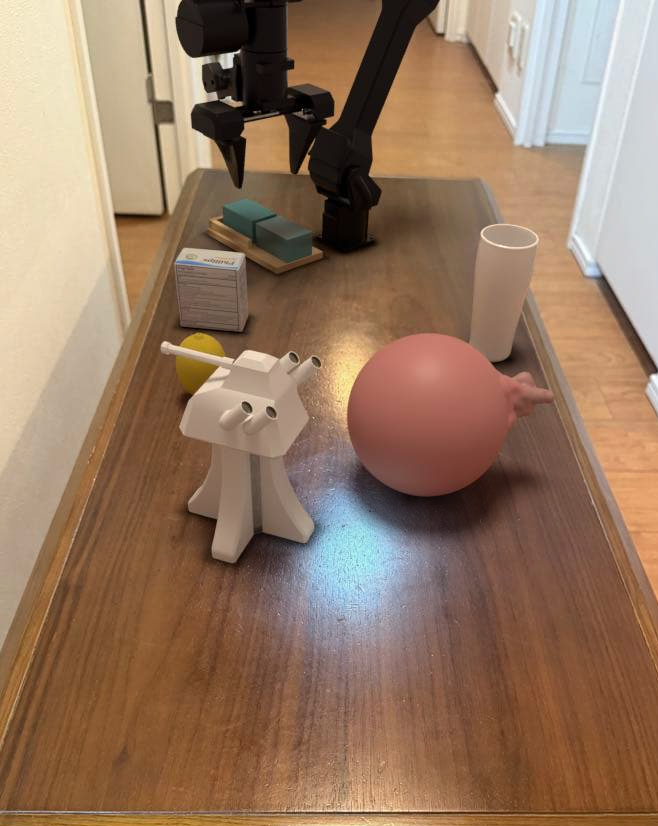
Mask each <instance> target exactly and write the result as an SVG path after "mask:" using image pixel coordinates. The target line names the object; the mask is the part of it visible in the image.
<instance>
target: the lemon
mask: <svg viewBox="0 0 658 826" xmlns="http://www.w3.org/2000/svg"><path fill="white" fill-rule="evenodd" d="M178 347H182V348H186V349H190V350H194V351H198V352H202V353H206V354H210V355H214V356H218V357H222V358H223V357H227V356H226V353H225V350H224V348H223V346H222V344H221V343H220V342H219V341H218V340H217V339H216V338H214V337H213V336H211V335H208V334H206V333H202V332H196V333H194V334H191V335H189V336H187V337H186V338H185V339H183V340H182V341H181V343H180V344H179V345H178ZM219 367H220V366H217V365H214V364H210V363H206V362H202V361H198V360H194V359H190V358H186V357H182V356H178V355H175V371H176V375H177V376H176V377H177V379H178V382H179V383H180V385H181V386H182V388H183V389H184V390H185V391H186V392H187V393H189V394H191V395H192V396H193V395H194V394H195V393H196V392H197V391H198V390H199V389H200V387H201V386H202V385H203V384H204V383H205V382H206V381H207V380H208V379H209V378H210V376H211V375H212V374H213V373H214V372H215V371H216V370H217V369H218V368H219Z"/></svg>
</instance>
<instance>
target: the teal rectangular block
mask: <svg viewBox="0 0 658 826" xmlns="http://www.w3.org/2000/svg"><path fill="white" fill-rule="evenodd" d="M221 206H222V207H221V208H222V215H223V224H224V225H226V226H228V227H230V228H231V229H233V230H235V231H237V232H239V233H241V234H242V235H244V236H246V237H248V238H250V239H251V240H252V244H254V243H256V223H258V222H261V221H265V220H268V219H271V218H274V217H278V214H277V213H276V212H274V211H272V210H271V209H268V208H266V207H265V206H263V205H261V204H259V203H257V202H256V201H253V200H251V199H249V198H244V199H240V200H237V201H232V202H229V203H226V204H222V205H221Z"/></svg>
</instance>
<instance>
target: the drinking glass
mask: <svg viewBox="0 0 658 826" xmlns="http://www.w3.org/2000/svg"><path fill="white" fill-rule="evenodd" d="M539 243H540V238H539V236H538V235H537V234H536V232H534V231H533V230H531V229H530V228H527V227H524V226H521V225H518V224H517V225H516V224H510V223H496V224H495V223H494V224H491V225H487V226H486V227H484V228H482V230H481V231H480V234H479V239H478V243H477V247H476V254H475V262H474V269H473V283H472V284H473V285H472V300H471V301H472V302H471V314H470V315H471V316H470V329H469V338H468V344H470V345H471V346H473V347H474V348H476V349H477V350H478V351H480V352H481V353H482V354H483V355H484V356H485V357H486V358H487V359H488V360H489V361H490V362H491V363H498V362H502V361H504V360H507V359H508V358H509V357H510V355H511V353H512V350H513V349H512V348H513V345H514V339H515V336H516V333H517V329H518V326H519V323H520V319H521V315H522V312H523V309H524V305H525V302H526V298H527V296H528V293H529V288H530V285H531V281H532V278H533V275H534V270H535V266H536V261H537V255H538V248H539Z"/></svg>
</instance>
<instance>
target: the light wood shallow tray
mask: <svg viewBox="0 0 658 826" xmlns="http://www.w3.org/2000/svg"><path fill="white" fill-rule="evenodd" d="M206 235H207V236H209V237H211V238H212V239H214V240H216V241H218V242H220V243H222V244H223V245H225V246H227V247H228V248H230V249H232V250H233V251H234V252H237V253H244V254H245V258H247V259H249V260H251V261H253V262H255V263H257V264H258V265H260V266H262V267H263V268H265V269H267V270H269V271H271V272H272V273H274V274H276V275H278V274H279V275H280V274H282V273H285V272H287V271H290V270H293V269H296V268H299V267H301V266H304V265H308V264H310V263H313V262H315V261H318V260H321V259H324V251H323V250H320V249H319V248H318V247H315V246H313V231H312V230H310V229H308V228H306V227H305V226H302V225H300V224H299V223H296V222H294V221H292V220H290V219H288V218H286V217H284V216H282V215H277V217H274V218H271V219H268V220H265V221H261V222H258V223H256V243H254V244H252V240H251V239H250V238H248V237H246V236H244V235H242V234H241V233H239V232H237V231H235V230H233V229H231V228H230V227H228V226H226V225H224V224H223V214H222V215H219V216H215V217H213V218H209V219H208V227H206Z"/></svg>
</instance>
